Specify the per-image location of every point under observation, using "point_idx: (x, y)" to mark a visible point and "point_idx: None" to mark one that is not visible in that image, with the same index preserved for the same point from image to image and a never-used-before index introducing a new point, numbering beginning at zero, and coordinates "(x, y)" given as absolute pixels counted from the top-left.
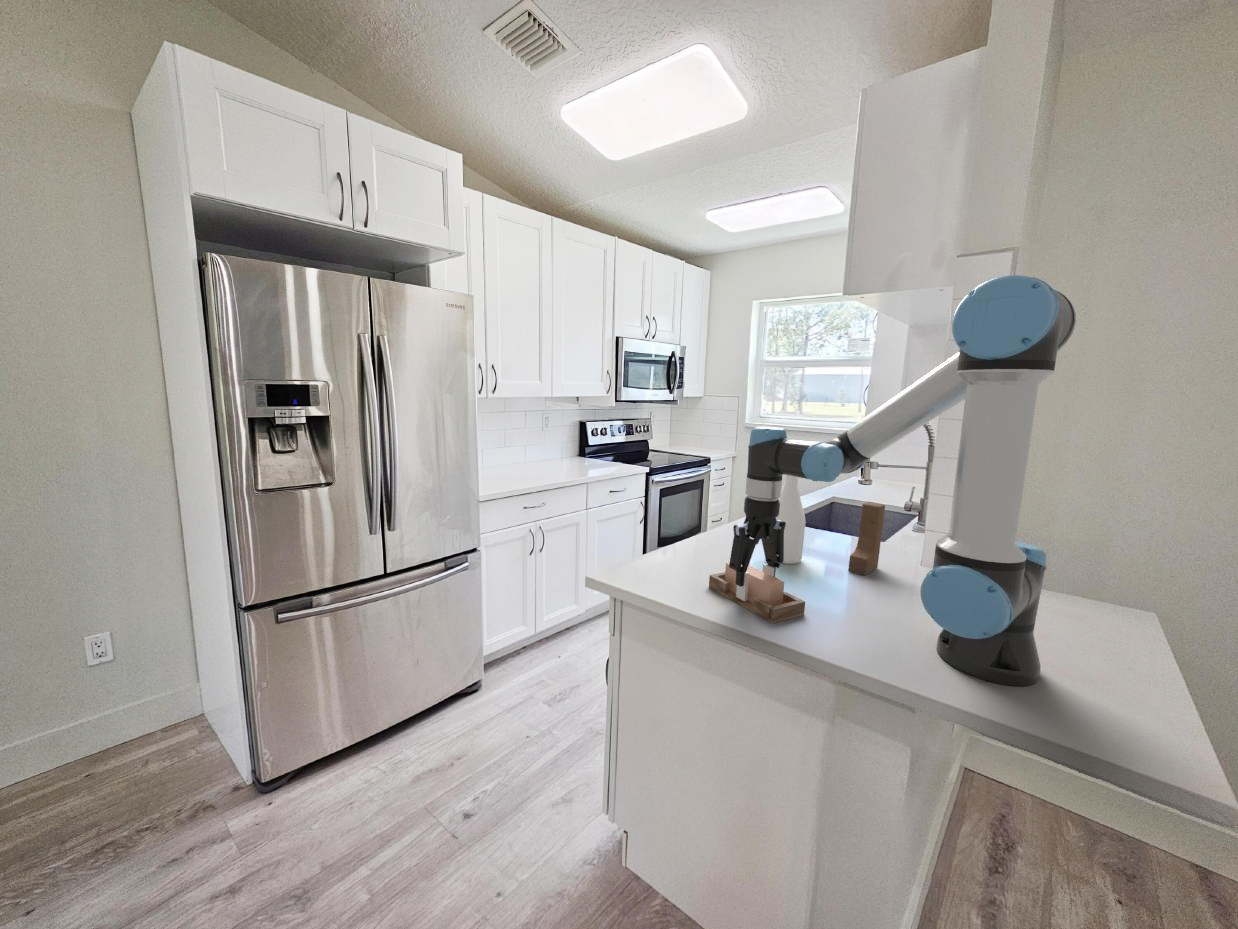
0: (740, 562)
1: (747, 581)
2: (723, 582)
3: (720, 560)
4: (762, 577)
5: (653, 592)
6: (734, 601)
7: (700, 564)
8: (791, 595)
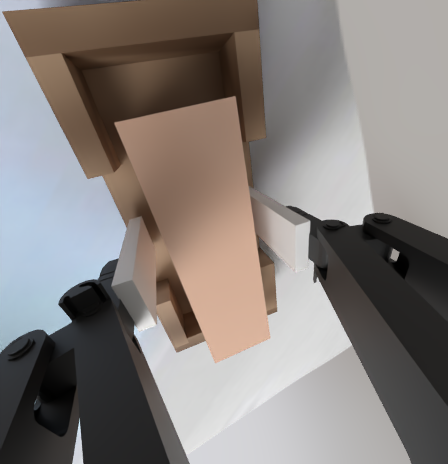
0: (411, 239)
1: (278, 209)
2: (273, 271)
3: None
4: (223, 207)
5: None
6: None
7: (215, 382)
8: (69, 126)
